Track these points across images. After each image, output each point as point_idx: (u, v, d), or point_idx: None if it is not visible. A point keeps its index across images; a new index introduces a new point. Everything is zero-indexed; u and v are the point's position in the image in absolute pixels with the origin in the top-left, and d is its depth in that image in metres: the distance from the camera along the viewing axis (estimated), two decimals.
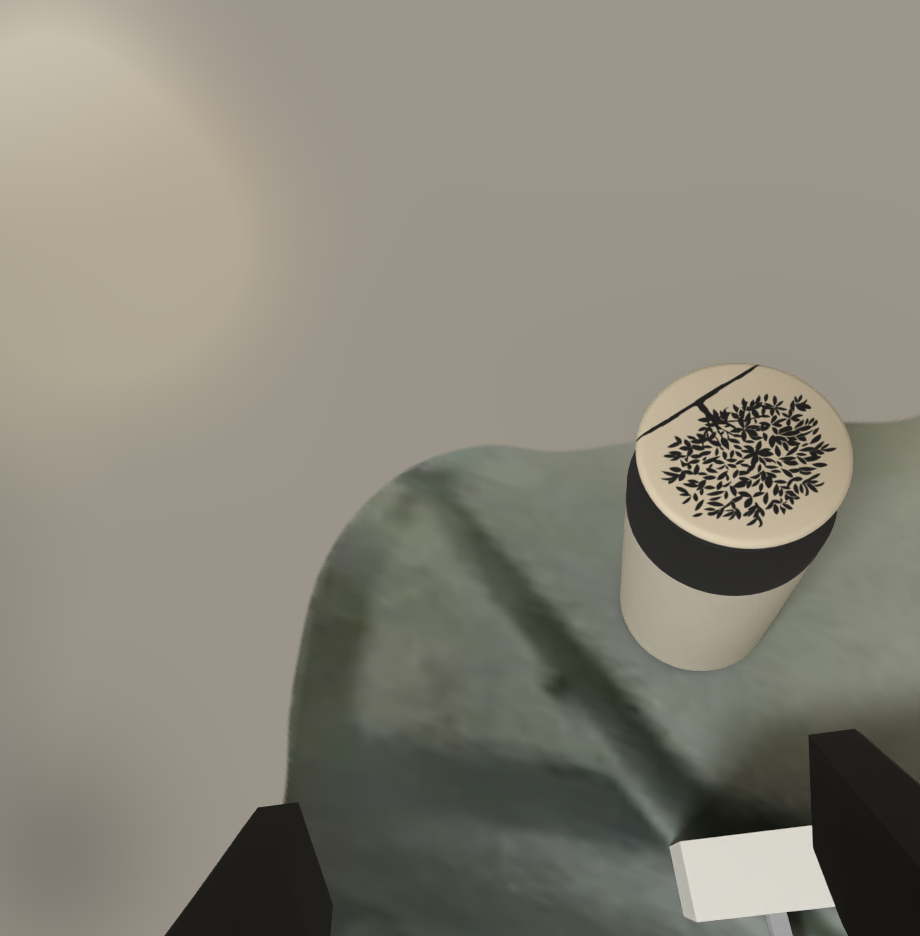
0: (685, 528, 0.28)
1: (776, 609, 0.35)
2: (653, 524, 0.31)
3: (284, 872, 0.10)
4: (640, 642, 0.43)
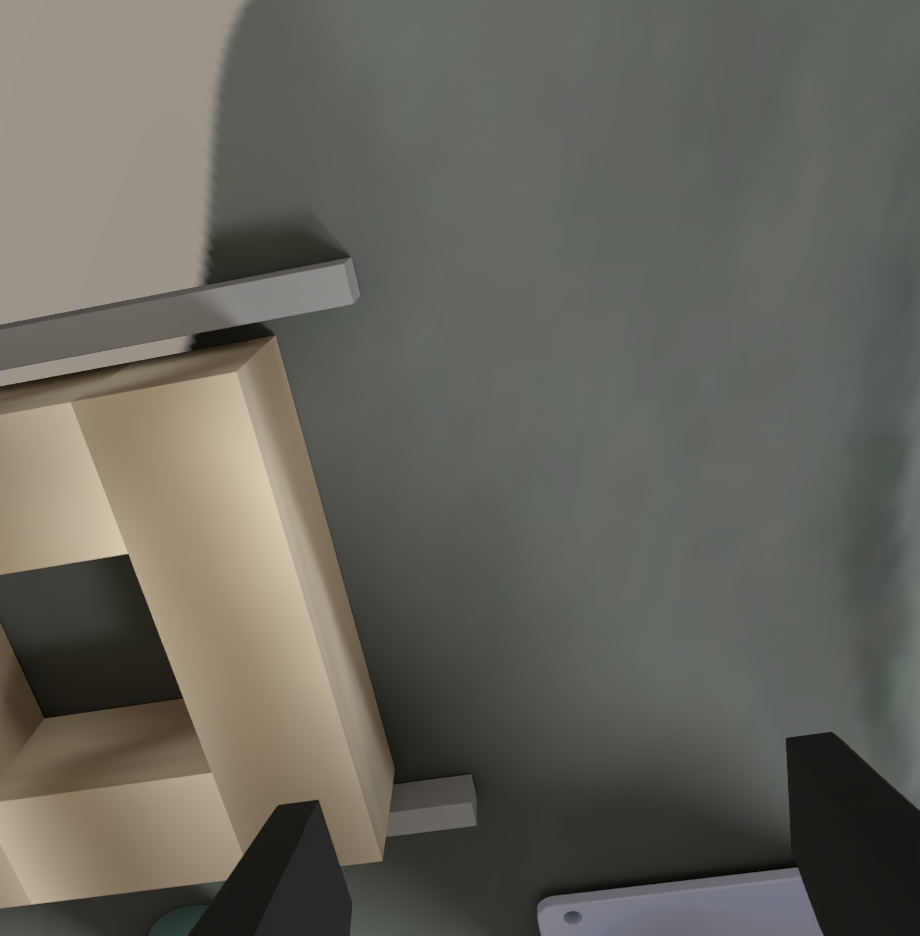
0: None
1: None
2: None
3: (306, 869, 0.10)
4: None
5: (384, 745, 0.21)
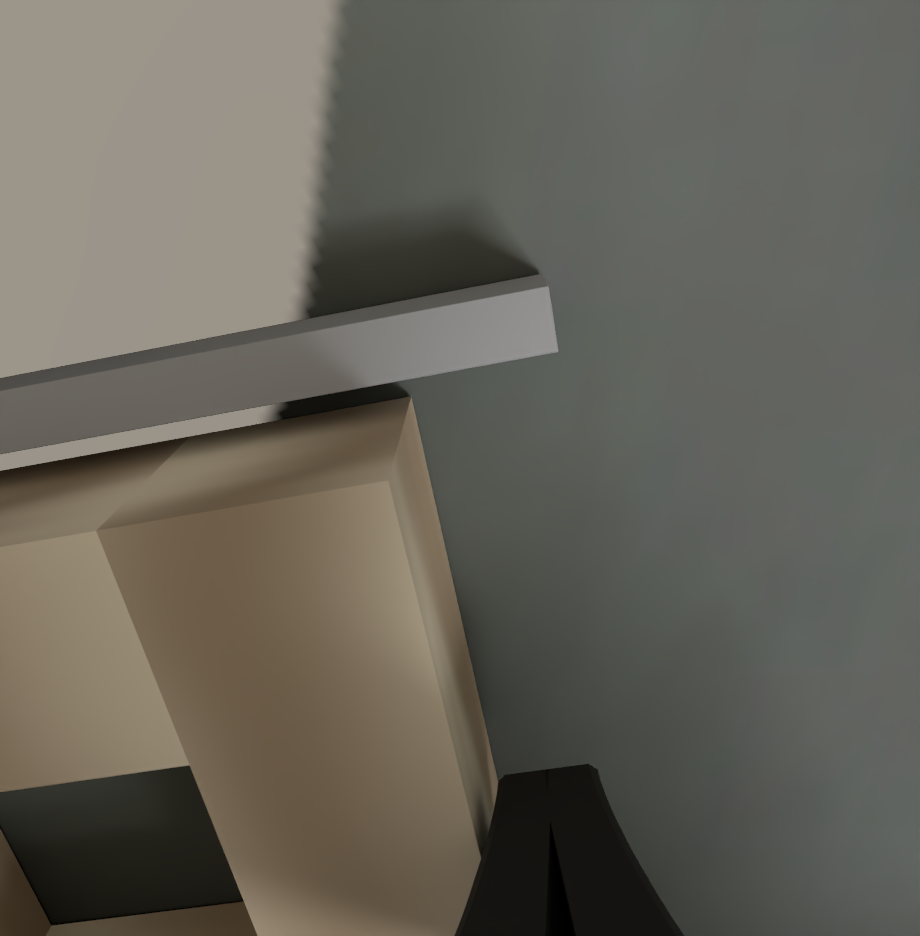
0: None
1: None
2: None
3: None
4: None
5: None
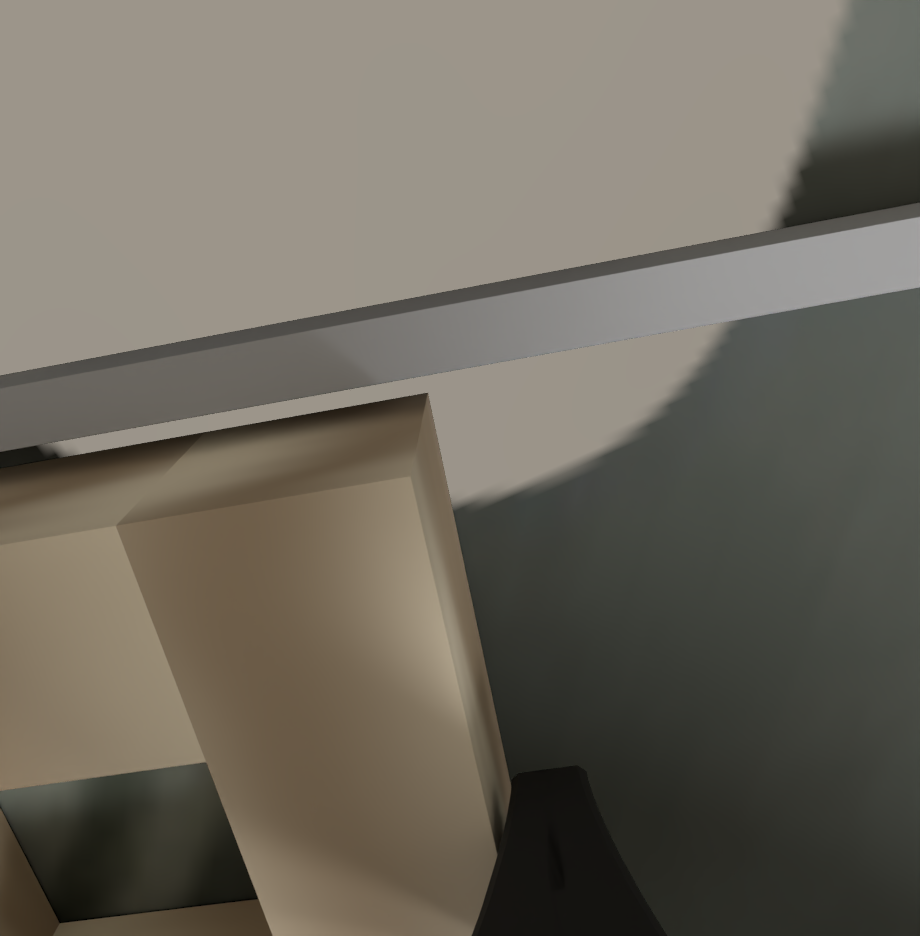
0: None
1: None
2: None
3: None
4: None
5: None
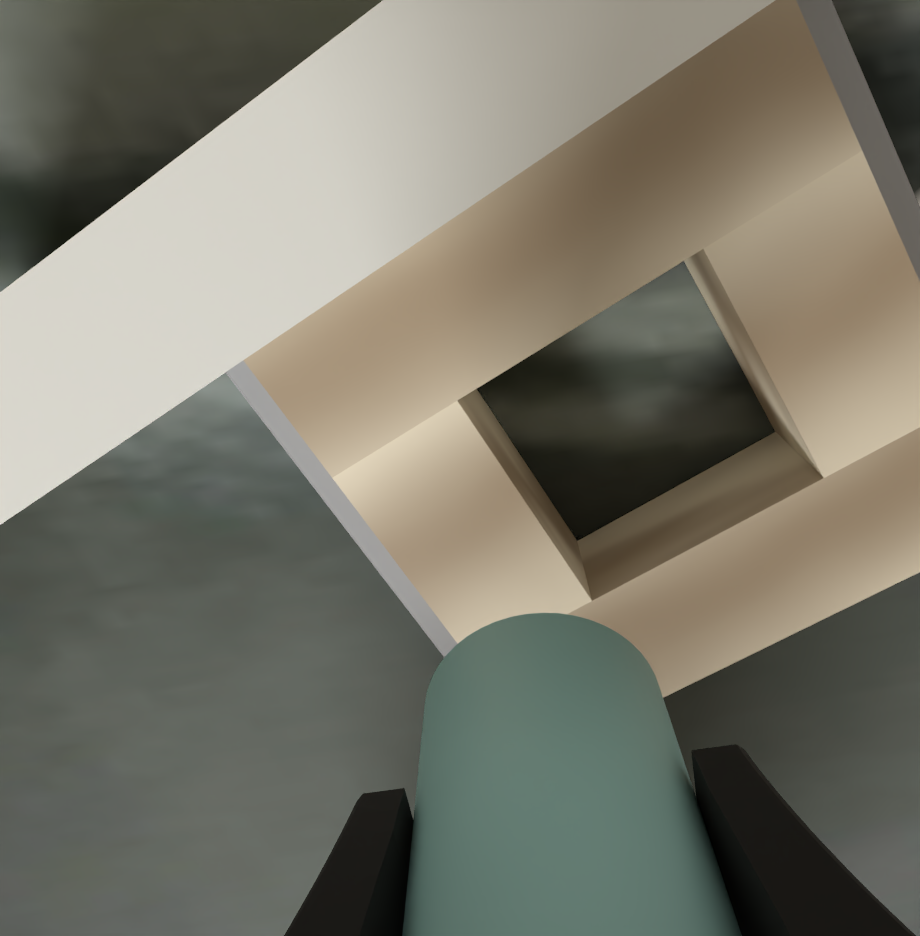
0: None
1: None
2: None
3: (399, 857, 0.10)
4: None
5: None
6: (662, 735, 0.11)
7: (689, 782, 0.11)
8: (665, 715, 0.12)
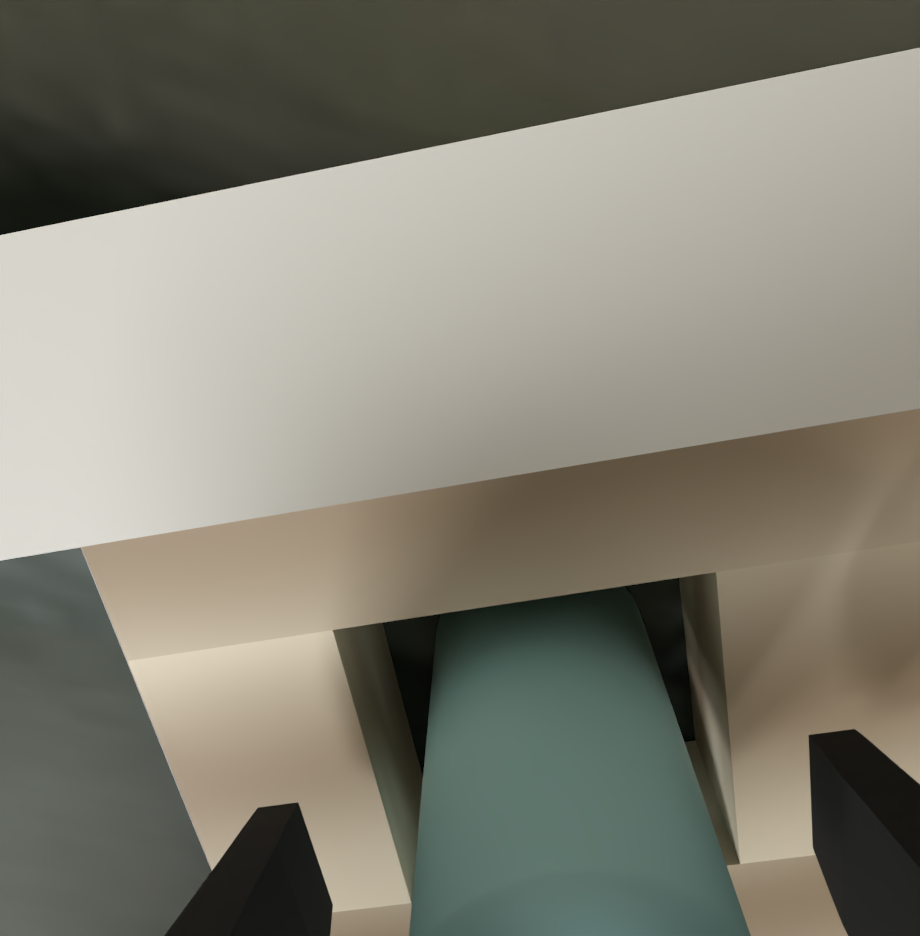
0: None
1: None
2: None
3: (284, 872, 0.10)
4: None
5: None
6: (642, 648, 0.13)
7: (664, 686, 0.13)
8: (645, 636, 0.14)
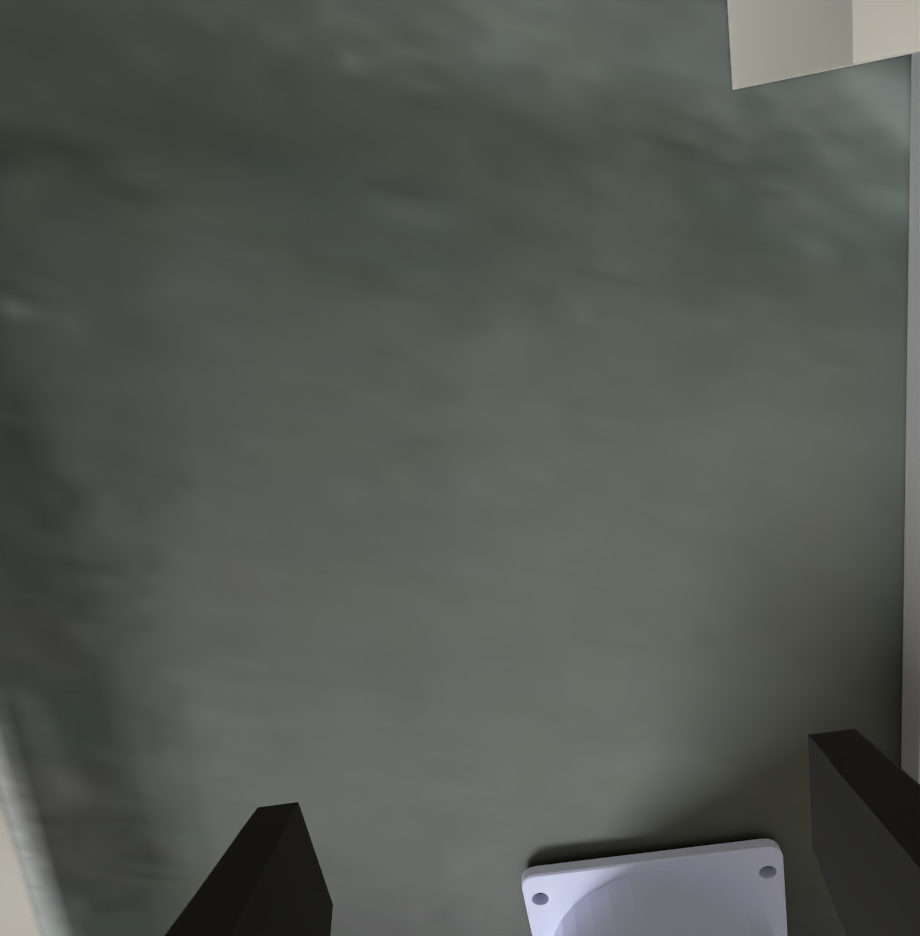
0: None
1: None
2: None
3: (284, 872, 0.10)
4: None
5: None
6: None
7: None
8: None
